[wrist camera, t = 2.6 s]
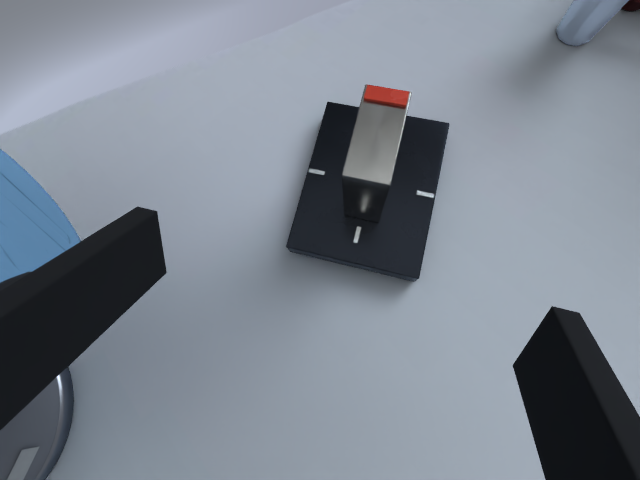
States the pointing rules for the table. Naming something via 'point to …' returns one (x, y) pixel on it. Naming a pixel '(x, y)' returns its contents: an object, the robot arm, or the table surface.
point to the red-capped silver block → (373, 151)
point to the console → (399, 210)
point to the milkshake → (586, 19)
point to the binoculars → (632, 5)
